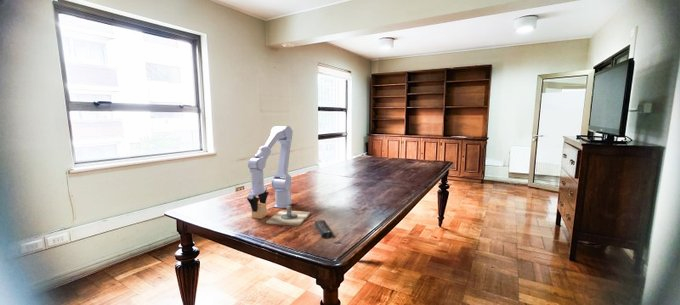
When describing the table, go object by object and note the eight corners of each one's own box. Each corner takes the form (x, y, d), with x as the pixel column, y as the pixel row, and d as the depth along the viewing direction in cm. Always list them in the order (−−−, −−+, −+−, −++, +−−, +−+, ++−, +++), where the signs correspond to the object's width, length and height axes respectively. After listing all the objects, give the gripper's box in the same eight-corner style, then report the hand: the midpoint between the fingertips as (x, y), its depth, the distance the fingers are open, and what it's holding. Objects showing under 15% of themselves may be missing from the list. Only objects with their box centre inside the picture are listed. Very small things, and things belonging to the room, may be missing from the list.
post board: (281, 212, 148) (280, 200, 147) (310, 214, 144) (310, 202, 143) (266, 223, 132) (265, 210, 132) (298, 226, 129) (298, 213, 128)
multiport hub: (324, 224, 131) (324, 219, 130) (332, 237, 117) (332, 232, 117) (315, 226, 129) (314, 221, 129) (322, 239, 116) (322, 233, 115)
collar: (257, 214, 145) (256, 202, 144) (266, 214, 144) (266, 203, 143) (252, 217, 140) (251, 206, 139) (261, 218, 139) (261, 206, 138)
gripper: (257, 178, 148) (259, 204, 149) (241, 185, 134) (243, 213, 135) (270, 179, 146) (271, 204, 148) (255, 185, 132) (257, 214, 134)
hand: (259, 208), depth 141 cm, fingers open, 7 cm apart
